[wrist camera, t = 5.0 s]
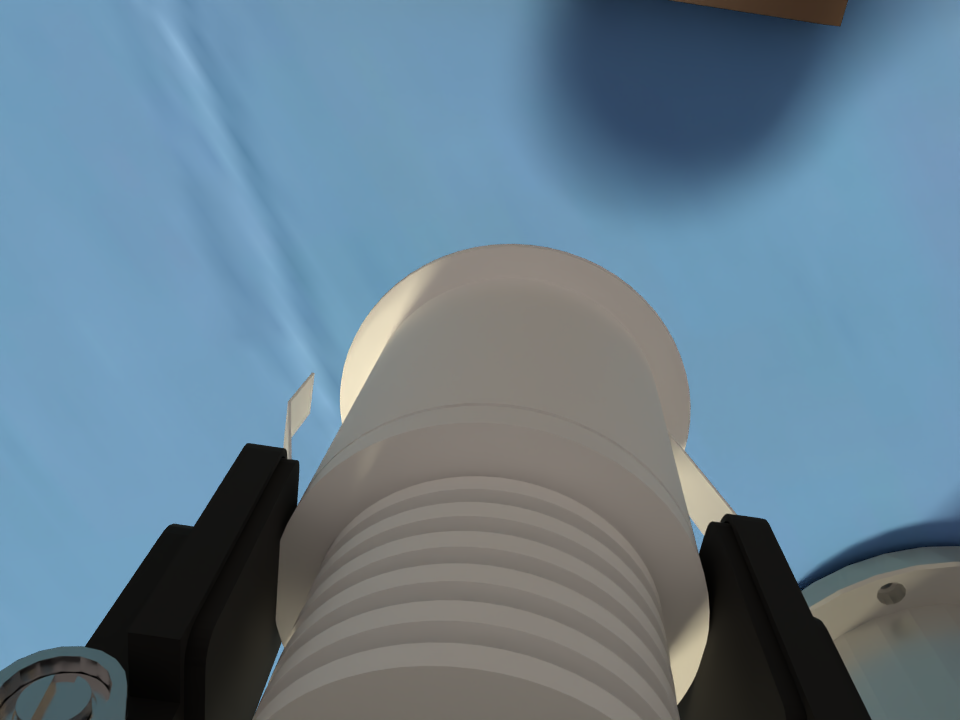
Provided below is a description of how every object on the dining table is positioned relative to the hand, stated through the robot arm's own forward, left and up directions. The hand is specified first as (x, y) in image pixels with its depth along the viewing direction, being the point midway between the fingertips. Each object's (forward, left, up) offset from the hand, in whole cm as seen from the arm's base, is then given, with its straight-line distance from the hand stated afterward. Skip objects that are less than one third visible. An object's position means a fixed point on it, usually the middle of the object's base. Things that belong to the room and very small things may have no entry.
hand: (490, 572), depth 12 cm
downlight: (0, 0, -6) cm, 6 cm away
